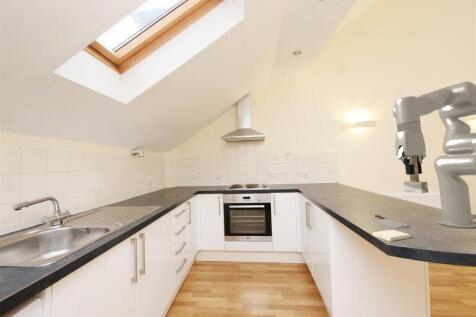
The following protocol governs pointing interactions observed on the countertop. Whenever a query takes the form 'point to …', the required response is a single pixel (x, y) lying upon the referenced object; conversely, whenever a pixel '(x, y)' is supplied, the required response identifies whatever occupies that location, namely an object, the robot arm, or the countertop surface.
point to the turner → (415, 181)
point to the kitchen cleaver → (390, 222)
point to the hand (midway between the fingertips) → (414, 173)
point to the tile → (391, 235)
